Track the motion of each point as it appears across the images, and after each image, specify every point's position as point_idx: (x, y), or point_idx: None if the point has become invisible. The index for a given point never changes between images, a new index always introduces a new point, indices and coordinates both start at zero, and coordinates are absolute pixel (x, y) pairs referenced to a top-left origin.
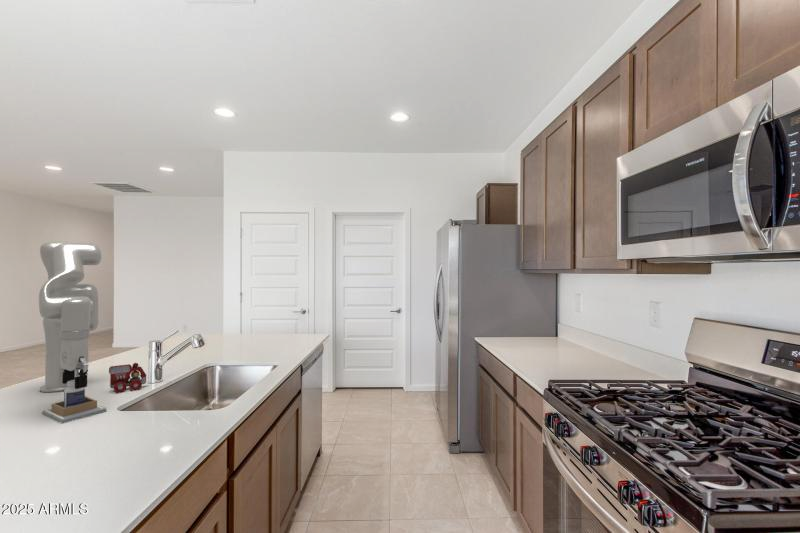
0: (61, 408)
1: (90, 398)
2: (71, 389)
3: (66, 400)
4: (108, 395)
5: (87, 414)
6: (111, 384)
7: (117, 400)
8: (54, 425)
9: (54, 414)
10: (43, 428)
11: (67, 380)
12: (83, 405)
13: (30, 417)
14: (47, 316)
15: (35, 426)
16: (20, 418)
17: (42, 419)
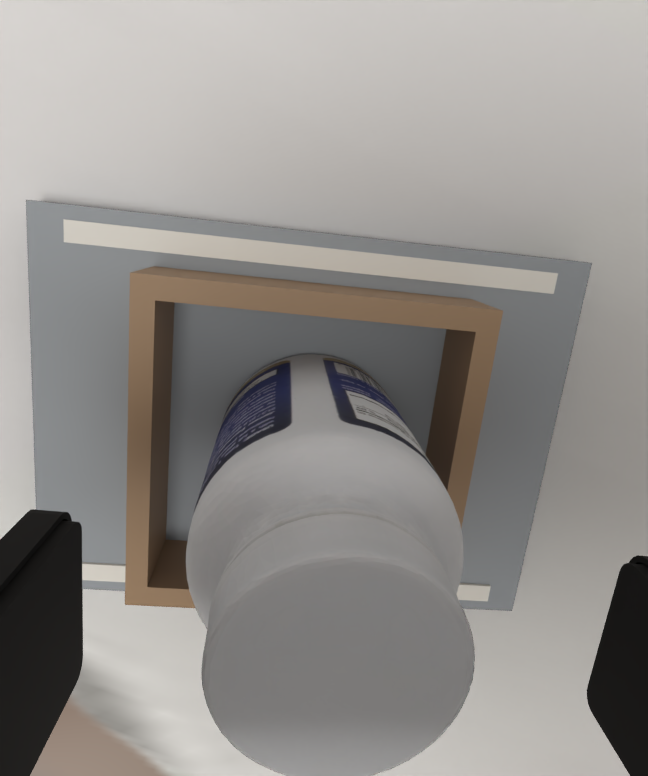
0: (183, 277)
1: None
2: (236, 499)
3: (289, 391)
4: (534, 771)
5: (39, 428)
6: None
7: None
8: (44, 135)
9: (316, 256)
10: (41, 29)
11: (640, 643)
12: (130, 471)
13: (574, 151)
14: None
15: (198, 23)
16: (644, 85)
17: (382, 176)
